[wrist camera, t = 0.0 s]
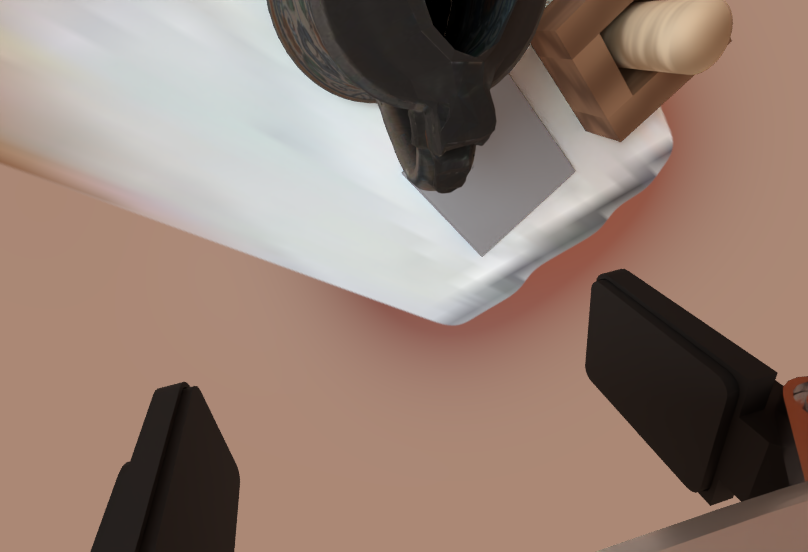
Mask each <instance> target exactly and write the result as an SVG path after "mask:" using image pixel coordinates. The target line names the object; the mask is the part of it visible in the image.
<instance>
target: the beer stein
mask: <svg viewBox="0 0 808 552" xmlns="http://www.w3.org/2000/svg"><path fill="white" fill-rule="evenodd" d="M545 4H546V0H452V6H451V11H450V15H449V20H448V24H447V28H446V33H445V36H444V37H443V36H442V35H441V34H440V32H439V31H438V30H437V29H436V28H435V27H434V26H433V23H432V20H431V17H430V15H429V12H428V9H427V6H426V3H425V0H267V5H268V10H269V13H270V16H271V19H272V22H273V26H274V28H275V30H276V33H277V35H278V38H279V39H280V41H281V43H282V45H283V47H284V48H285V50H286V52H287V53H288V55H289V56H290V57H291V59H292V60H293V61H294V63H295V64H296V66H297V67H298V68H299V69H300V70H301V71H302V72H303V73H304V74H305V75H306V76H307V77H308V78H309V79H311V80H312V81H313V82H314V83H316V84H317V85H318V86H320V87H322V88H323V89H325V90H326V91H328V92H330V93H332V94H334V95H337V96H339V97H342V98H344V99H348V100H352V101H357V102H364V103H378V106H379V108H380V111H381V114H382V117H383V121H384V124H385V127H386V129H387V132H388V135H389V137H390V140H391V142H392V145H393V147H394V150H395V153H396V155H397V158H398V160H399V162H400V164H401V166H402V168H403V170H404V172H405V174H406V176H407V179H408V180H409V181H410V182H411V183H412V184H413V185H415V186H416V187H417V188H419V189H421V190H425V191H437V192H438V193H441V194H445V193H451V192H453V191H454V190H456V189H457V188H460V187H462V186H463V185H464V183H465V182H466V177H467V175H468V174H469V172H470V171H471V168H472V169H473V167H472V165H473V162H474V156H475V151H476V145H479V146H483V145H484V144H485V143H486V142H487V140H488V139H489V138H490V135H491V134H492V133H493V131H495V126H496V122H497V120H496V112H495V107H494V103H493V100H492V96H491V93H490V89H491V88H492V87H494V86H495V85H497V84H498V83H499V82H500V81H501V80H502V79H503V78H504V77H505V76H506V75H507V74H508V73H509V72H510V71H511V70H512V69H513V68H514V66H515V65H516V64H517V63H518V61H519V60H520V59H521V57H522V56H523V54H524V53H525V51H526V50H527V48H528V46H529V45H530V43H531V41H532V39H533V37H534V35H535V33H536V30H537V28H538V25H539V22H540V20H541V17H542V15H543V11H544V8H545Z"/></svg>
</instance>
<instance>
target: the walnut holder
mask: <svg viewBox="0 0 808 552" xmlns="http://www.w3.org/2000/svg"><path fill="white" fill-rule="evenodd" d="M646 1H659V0H553V1H552V2H551V3H550V4H549V5H548V6H547V7H546V8H545V9H544V11H543V15H542V17H541V20H540V22H539V25H538V28H537V30H536V33H535V35H534V37H533V39H532V41H531V45H532V47H533V48H534V50H535V51H536V53H537V55H538V56H539V58H540V59H541V61H542V62H543V64H544V66H545V67H546V69H547V70H548V72H549V74H550V75H551V77H552V78H553V80H554V82H555V83H556V85H557V86H558V88H559V89H560V91H561V93H562V94H563V96H564V97H565V99H566V101H567V102H568V104H569V105H570V107H571V108H572V110H573V112H574V113H575V115H576V116H577V118H578V120H579V121H580V123H581V124H582V126H583V128H584V129H585V131H588V132H591V133H594V134H597V135H600V136H603V137H606V138H610V139H613V140H616V141H619V142H622V141H623V140H624V139H625V138H626V137H627V136H628V135H629V134H630V133H631V132H633V131H634V130H635V129H636V128H637V127H638V126H639V125H640V124H641V123H642V122H644V121H645V120H646V119H647V118H648V117H649V116H650V115H651V114H652V113H653V112H654V111H656V110H657V109H658V108H659V107H660V106H661V105H662V104H663V103H664V102H665V101H666V100H668V99H669V98H670V97H671V96H672V95H673V94H674V93H675V92H676V91H678V90H679V89H680V88H681V87H682V86H683V85H684V84H685V83H686V82H687V81H688V80H689V79H691V78H692V77H693V76H694V75H686V74H676V73H667V72H657V71H648V70H638V69H629V68H619V67H617V65H616V63H615V62H614V60H613V58H612V56H611V54H610V52H609V50H608V48H607V47H606V45H605V43H604V41H603V39H602V37H601V35H600V34H599V33H600V32H601V31H602V30H603V29H605V28H606V27H607V26H608V25H609V24H610V23H611V22H612V21H613V20H614V19H615V18H616V17H617V16H618V15H619V14H620V13H621V12H622V11H623V10H624V9H625V8H626V7H627V6H628V5H629V4H630V3H631V2H632V3H634V2H646ZM730 42H731V38H730V39H729V42H728V44H729V43H730ZM728 44H727V45H728Z"/></svg>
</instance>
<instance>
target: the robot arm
mask: <svg viewBox="0 0 808 552" xmlns="http://www.w3.org/2000/svg"><path fill="white" fill-rule="evenodd" d="M585 368H586V372H587V375H588V377H589V379H590V380H591V381H592V382H593V384H594V385H595V386H596V387H597V388H598V389H599V390H600V391H601V392H602V394H603V395H604V396H605V397H606V398H607V399H608V400H609V401H610V402H611V404H612V405H613V406H614V407H615V408H616V409H617V410H618V411H619V412H620V414H621V415H622V416H623V417H624V418H625V419H626V420H627V421H628V423H630V425H631V426H632V427H633V428H634V429H635V430H636V431H637V433H638V434H639V435H640V436H641V437H642V438H643V439H644V440H645V441H646V443H647V444H648V445H649V446H650V447H651V448H652V449H653V450H654V451H655V453H656V454H657V455H658V456H659V457H660V458H661V459H662V460H663V462H664V463H665V464H666V465H667V466H668V467H669V468H670V469H671V470H672V472H673V473H674V474H675V475H676V476H677V477H678V478H679V479H680V480H681V482H682V483H683V484H684V485H685V486H686V487H687V488H688V489H689V490H691V491H692V492H698V493H699V494H700V495H701V496H702V497H703V498H704V499H705V500H706V502H708V504H709V505H710V506H711V505H714V504H717V503H720V502H722V501H725V500H728V499H731V498H733V496H734V495H735V496H736V497H737V498H738V499H739V500H740V501H741V502H739V503H736V504H733V505H730V506H727V507H724V508H721V509H718V510H715V511H712V512H710V513H706V514H704V515H701V516H698V517H695V518H692V519H689V520H686V521H683V522H681V523H678V524H675V525H672V526H669V527H666V528H663V529H660V530H657V531H654V532H651V533H649V534H646V535H643V536H640V537H637V538H634V539H632V540H629V541H625V542H623V543H620V544H617V545H614V546H611V547H608V548H606V549H603V550H600V551H597V552H808V376H804V377H796V378H794V379H791V380H789V381H788V382H787V383H786V384H785V385H784V386H783V385H781V384H780V383H778V382H777V381H776V380H775V379H776V376H777V372H776V371H774V370H773V369H771V368H770V367H768V366H767V365H765V364H764V363H762V362H761V361H759V360H758V359H757V358H755V357H754V356H752V355H751V354H749V353H748V352H746V351H745V350H743V349H742V348H741V347H739V346H738V345H736V344H735V343H733V342H732V341H730V340H729V339H727V338H726V337H724V336H723V335H721V334H720V333H718V332H717V331H715V330H714V329H713V328H711V327H709V326H708V325H707V324H705V323H704V322H702V321H701V320H699V319H698V318H696V317H695V316H693V315H692V314H691V313H689V312H688V311H686V310H685V309H683V308H682V307H680V306H679V305H677V304H676V303H674V302H673V301H672V300H670V299H669V298H667V297H665V296H664V295H663V294H661V293H660V292H658V291H657V290H656V289H654V288H653V287H651V286H650V285H648V284H647V283H645V282H644V281H642V280H641V279H639V278H638V277H636V276H635V275H633V274H632V273H630V272H629V271H627V270H625V269H620V270H615V271H612V272H608V273H604V274H601V275H599V276H598V278H597V281H596V282H594V283H593V285H592V288H591V300H590V313H589V326H588V339H587V350H586V364H585ZM239 488H240V476H239V471H238V467H237V465H236V463H235V461H234V459H233V457H232V455H231V453H230V451H229V449H228V446H227V444H226V443H225V440H224V438H223V436H222V434H221V432H220V430H219V428H218V426H217V424H216V422H215V420H214V418H213V416H212V414H211V411H210V409H209V407H208V405H207V403H206V401H205V399H204V397H203V395H202V393H201V391H200V389H199V388H198V387H197V386H193V387H190V386H189V385H188V384H187V383H186V382H182V383H178V384H174V385H170V386H167V387H162V388H159V389H157V390H155V392H154V394H153V397H152V401H151V403H150V406H149V409H148V412H147V415H146V417H145V420H144V423H143V426H142V429H141V432H140V435H139V438H138V441H137V444H136V446H135V449H134V452H133V455H132V458H131V461H130V462H127V463H126V464H124V465H123V466H122V468H121V470H120V472H119V474H118V477H117V480H116V482H115V485H114V488H113V491H112V494H111V496H110V499H109V502H108V505H107V508H106V510H105V513H104V516H103V518H102V522H101V524H100V527H99V530H98V532H97V535H96V538H95V541H94V544H93V546H92V549H91V552H234V548H235V536H236V523H237V512H238V499H239Z"/></svg>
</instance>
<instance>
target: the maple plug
mask: <svg viewBox="0 0 808 552" xmlns="http://www.w3.org/2000/svg"><path fill="white" fill-rule="evenodd" d="M732 24H733V22H732V13H731V10H730V7H729V6H728V4H727V3H726V2H725V1H724V0H659V1H646V2H634V3H630V4H629V5H628V6H627V7H626V8H625V9H624V10H623V11H622V12H621V13H620V14H619V15H618V16H617V17H616V18H615V19H614V20H613V21H612V22H611V23H610V24H609V25H608V26H607V27H606V28H605V29H603V30H602V31H601V32H600V33H599V34H600V35H601V37H602V39H603V41H604V43H605V45H606V47H607V48H608V50H609V52H610V54H611V56H612V58H613V60H614V62H615V63H616V65H617V67H619V68H629V69H638V70H648V71H657V72H667V73H676V74H686V75H695V74H699V73H702V72H703V71H705V70H707V69H708V68H710V67H711V66H712V65H713V64H714V63H715V62H716V61H717V60H718V59H719V58H720V56H721V55H722V53H723V52H724V50H725V48H726V46H727V44H728V42H729V39H730V36H731V32H732Z"/></svg>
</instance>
